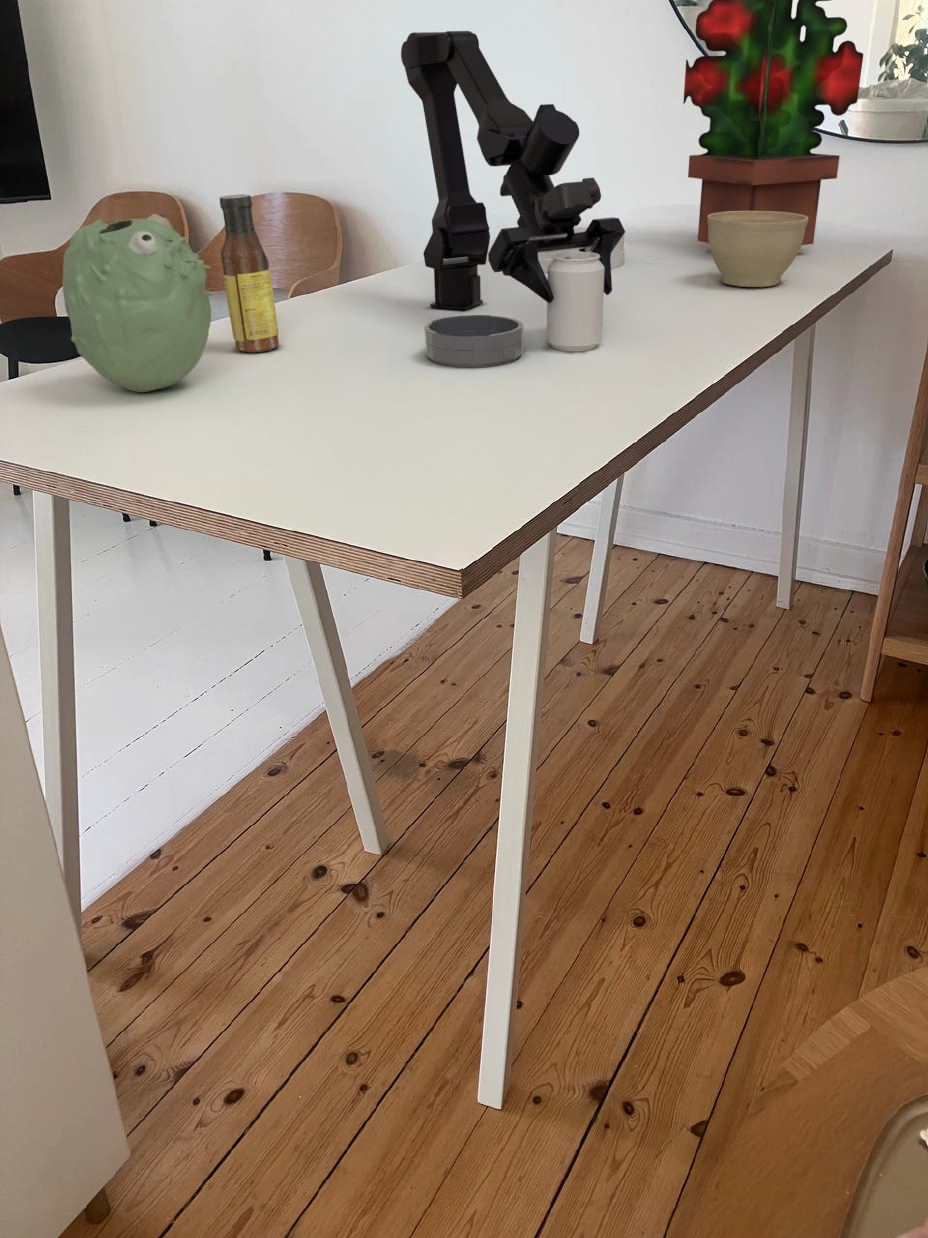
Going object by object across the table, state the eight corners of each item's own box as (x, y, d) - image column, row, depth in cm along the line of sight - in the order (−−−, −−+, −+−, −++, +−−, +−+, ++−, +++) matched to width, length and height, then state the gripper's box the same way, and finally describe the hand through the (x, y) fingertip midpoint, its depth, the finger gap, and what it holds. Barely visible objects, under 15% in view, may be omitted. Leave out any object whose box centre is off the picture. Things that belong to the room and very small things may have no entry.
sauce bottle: (288, 344, 149) (272, 192, 139) (266, 355, 143) (248, 198, 134) (246, 342, 151) (228, 192, 141) (224, 352, 145) (203, 197, 136)
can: (542, 341, 147) (543, 250, 141) (595, 338, 147) (598, 248, 142) (550, 354, 140) (552, 259, 135) (606, 351, 141) (610, 257, 135)
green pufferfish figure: (120, 368, 139) (91, 205, 129) (249, 376, 134) (229, 207, 124) (44, 401, 126) (6, 223, 116) (184, 412, 120) (156, 226, 111)
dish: (643, 257, 207) (644, 230, 204) (592, 276, 190) (593, 246, 188) (543, 250, 217) (543, 224, 215) (487, 267, 201) (486, 239, 199)
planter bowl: (795, 294, 171) (804, 223, 166) (695, 290, 176) (700, 220, 171) (804, 276, 185) (812, 210, 180) (710, 273, 190) (715, 208, 185)
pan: (408, 362, 138) (406, 331, 136) (455, 341, 148) (454, 312, 146) (495, 372, 133) (495, 340, 131) (538, 349, 142) (539, 319, 141)
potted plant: (673, 250, 214) (690, -9, 193) (762, 240, 222) (787, -9, 201) (743, 265, 196) (770, -18, 175) (836, 255, 204) (872, -18, 183)
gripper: (497, 160, 132) (544, 264, 129) (620, 152, 140) (667, 249, 136) (468, 221, 142) (511, 319, 138) (584, 210, 150) (627, 302, 146)
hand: (580, 296), depth 140 cm, fingers open, 9 cm apart
